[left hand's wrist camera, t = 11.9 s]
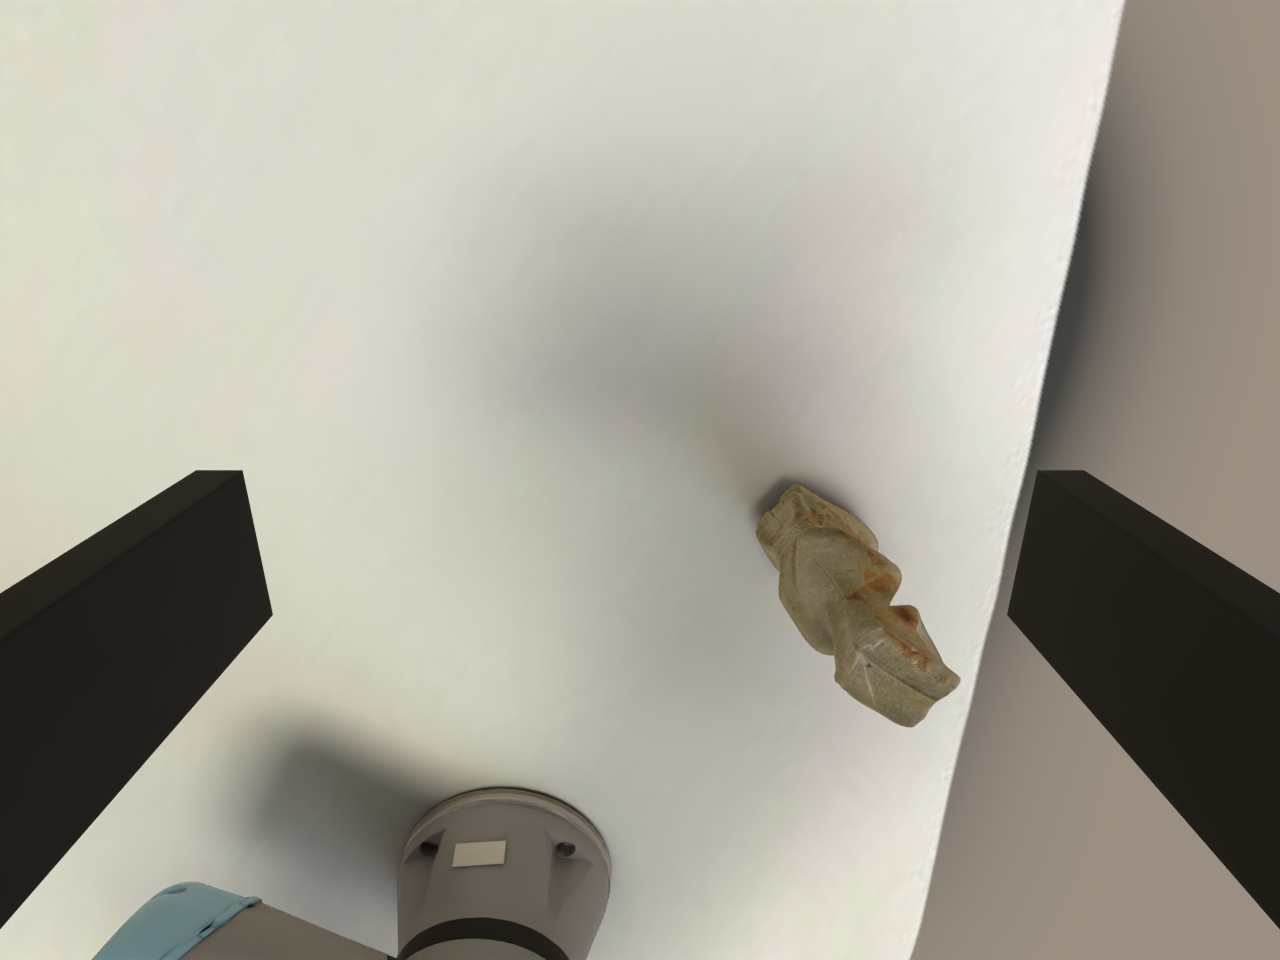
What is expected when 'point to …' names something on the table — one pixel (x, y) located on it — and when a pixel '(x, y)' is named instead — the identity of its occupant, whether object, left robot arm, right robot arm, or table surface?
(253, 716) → the table surface
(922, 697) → the sculpture
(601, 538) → the table surface
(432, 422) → the table surface
